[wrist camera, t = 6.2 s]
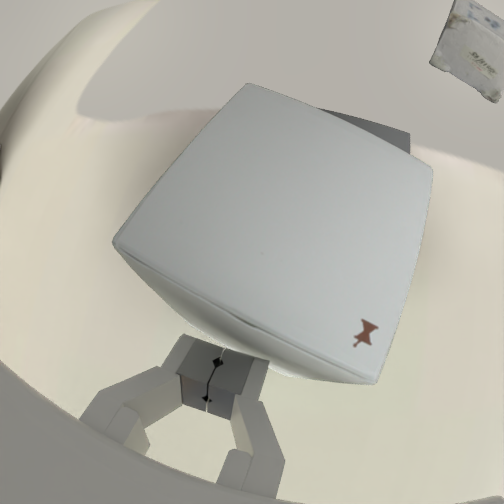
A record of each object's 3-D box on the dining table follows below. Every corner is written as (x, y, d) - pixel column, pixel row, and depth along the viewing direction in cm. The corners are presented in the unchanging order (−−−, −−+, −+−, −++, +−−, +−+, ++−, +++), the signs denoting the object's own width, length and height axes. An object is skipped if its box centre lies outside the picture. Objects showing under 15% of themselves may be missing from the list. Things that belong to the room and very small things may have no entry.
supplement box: (335, 279, 20) (443, 168, 8) (286, 379, 17) (379, 398, 6) (240, 229, 21) (248, 75, 9) (183, 322, 18) (100, 244, 7)
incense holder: (426, 68, 25) (452, 2, 15) (436, 44, 27) (457, -12, 17) (493, 113, 23) (533, 57, 13) (495, 83, 25) (525, 33, 15)
